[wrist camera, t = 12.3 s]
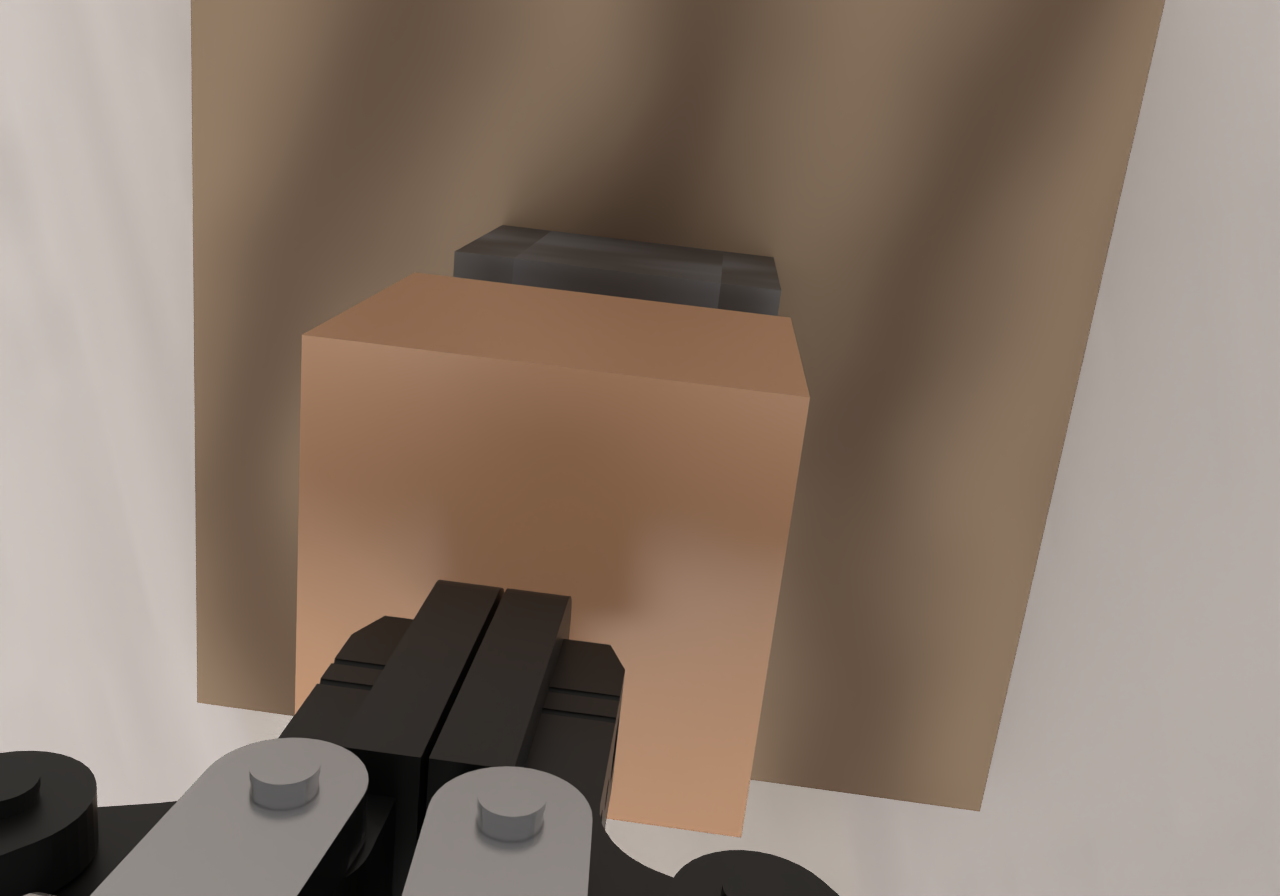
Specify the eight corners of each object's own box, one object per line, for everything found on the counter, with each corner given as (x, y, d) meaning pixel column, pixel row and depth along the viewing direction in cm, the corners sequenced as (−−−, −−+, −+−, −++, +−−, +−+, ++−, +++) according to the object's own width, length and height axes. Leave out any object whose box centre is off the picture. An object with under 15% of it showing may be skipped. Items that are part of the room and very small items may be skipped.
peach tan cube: (790, 317, 18) (809, 397, 13) (740, 659, 20) (741, 837, 15) (414, 272, 18) (302, 335, 14) (398, 613, 20) (293, 774, 15)
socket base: (1151, -47, 24) (1280, -91, 18) (968, 777, 30) (1022, 937, 24) (221, -145, 25) (68, -216, 19) (222, 674, 31) (105, 805, 25)
